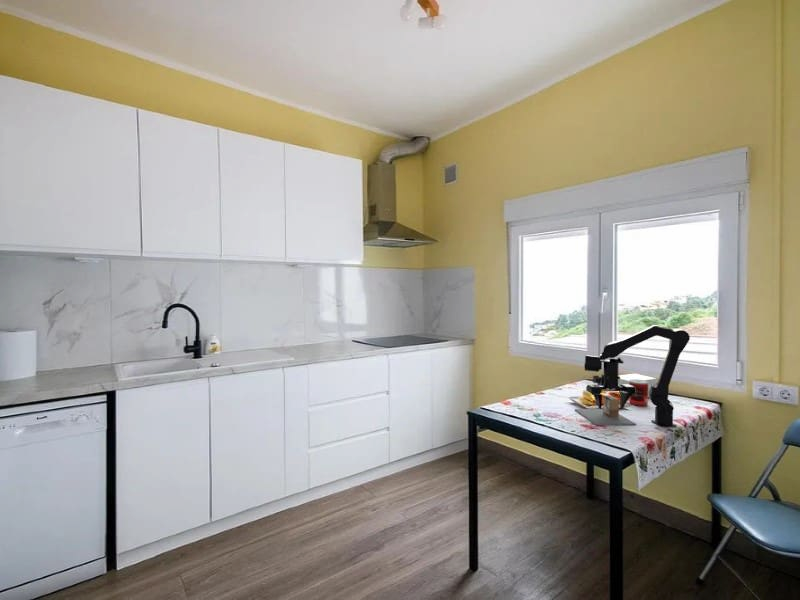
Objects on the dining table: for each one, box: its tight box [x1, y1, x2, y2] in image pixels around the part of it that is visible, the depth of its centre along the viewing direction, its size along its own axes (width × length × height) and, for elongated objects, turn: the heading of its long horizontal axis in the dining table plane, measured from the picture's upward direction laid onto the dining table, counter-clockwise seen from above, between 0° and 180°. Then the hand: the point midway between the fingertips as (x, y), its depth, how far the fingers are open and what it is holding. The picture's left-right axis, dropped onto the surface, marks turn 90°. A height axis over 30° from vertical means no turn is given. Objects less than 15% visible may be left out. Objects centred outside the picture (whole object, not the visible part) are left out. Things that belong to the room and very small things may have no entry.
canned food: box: [628, 379, 649, 407], centre depth 193 cm, size 8×8×11 cm
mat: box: [574, 408, 637, 426], centre depth 174 cm, size 20×16×1 cm
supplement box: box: [618, 373, 658, 398], centre depth 210 cm, size 17×13×9 cm
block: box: [602, 394, 620, 418], centre depth 174 cm, size 6×4×8 cm, turn 0°
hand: (610, 408), depth 174 cm, fingers open, 9 cm apart
